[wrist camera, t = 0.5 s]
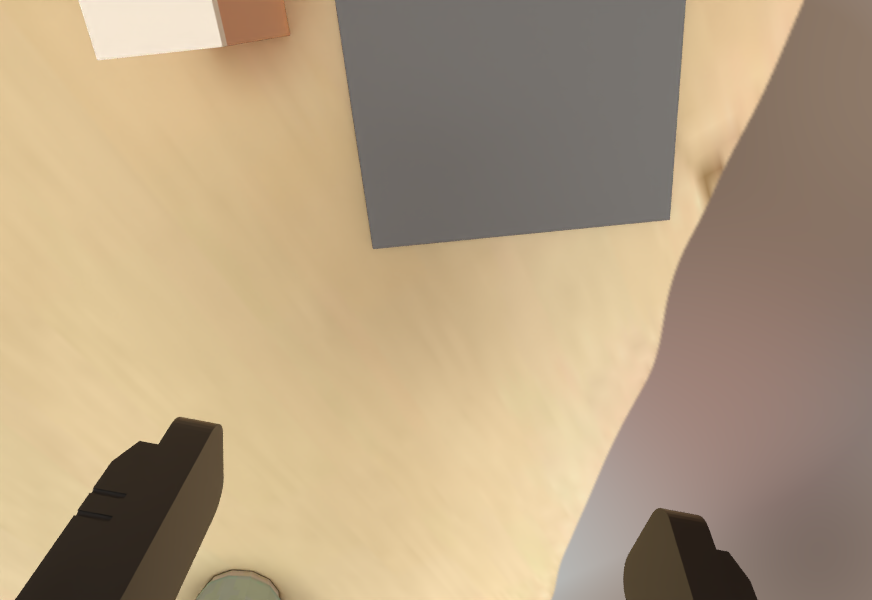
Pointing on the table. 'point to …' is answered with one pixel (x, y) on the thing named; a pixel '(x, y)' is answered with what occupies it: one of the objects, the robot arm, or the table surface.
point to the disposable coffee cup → (239, 587)
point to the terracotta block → (179, 24)
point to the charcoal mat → (512, 114)
